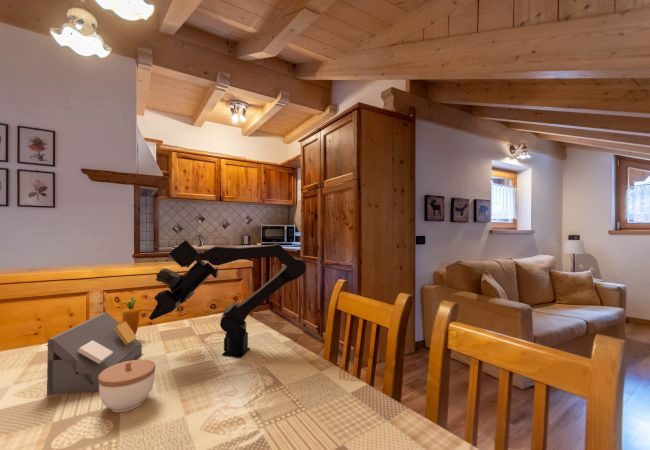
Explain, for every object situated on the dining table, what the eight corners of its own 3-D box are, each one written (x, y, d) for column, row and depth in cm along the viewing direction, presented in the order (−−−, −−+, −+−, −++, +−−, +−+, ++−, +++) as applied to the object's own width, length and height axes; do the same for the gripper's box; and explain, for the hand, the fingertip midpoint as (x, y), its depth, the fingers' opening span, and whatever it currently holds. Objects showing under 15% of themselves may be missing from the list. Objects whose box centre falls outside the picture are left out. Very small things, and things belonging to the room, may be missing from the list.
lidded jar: (111, 426, 60) (112, 379, 60) (88, 408, 66) (89, 365, 66) (164, 400, 69) (165, 359, 69) (140, 386, 75) (140, 348, 75)
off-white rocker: (113, 354, 79) (109, 336, 78) (102, 363, 74) (98, 343, 73) (93, 359, 78) (89, 340, 78) (80, 368, 73) (76, 348, 73)
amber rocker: (136, 339, 92) (140, 323, 92) (127, 345, 87) (131, 328, 87) (119, 336, 92) (123, 320, 92) (109, 342, 87) (113, 325, 87)
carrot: (130, 344, 101) (131, 299, 101) (118, 343, 102) (119, 299, 102) (142, 339, 105) (143, 296, 106) (130, 338, 106) (131, 295, 107)
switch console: (141, 353, 94) (142, 311, 94) (98, 391, 72) (99, 337, 72) (101, 355, 92) (102, 312, 92) (45, 394, 70) (46, 339, 71)
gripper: (184, 256, 101) (149, 290, 99) (162, 263, 82) (118, 305, 81) (208, 279, 102) (174, 313, 100) (192, 291, 83) (149, 332, 82)
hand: (155, 315), depth 91 cm, fingers open, 7 cm apart
